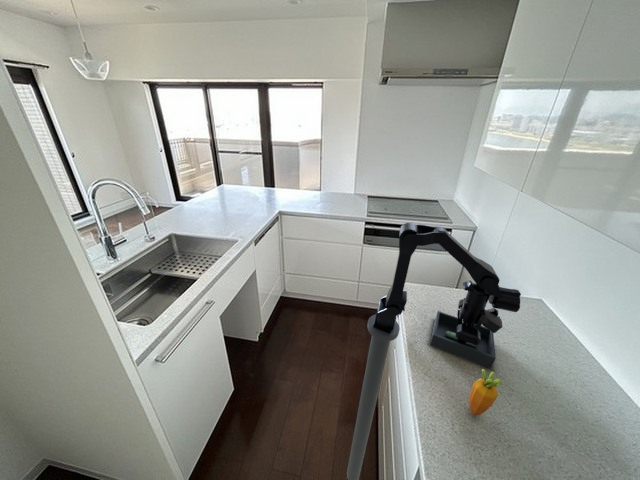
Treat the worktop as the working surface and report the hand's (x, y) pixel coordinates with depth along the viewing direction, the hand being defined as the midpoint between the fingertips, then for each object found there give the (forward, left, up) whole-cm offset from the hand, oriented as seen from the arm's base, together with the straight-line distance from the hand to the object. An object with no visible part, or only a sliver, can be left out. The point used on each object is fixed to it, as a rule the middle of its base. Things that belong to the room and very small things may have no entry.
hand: (460, 339), depth 86 cm
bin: (0, 0, -1) cm, 1 cm away
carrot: (+4, -25, -2) cm, 25 cm away
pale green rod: (0, 0, -1) cm, 1 cm away
